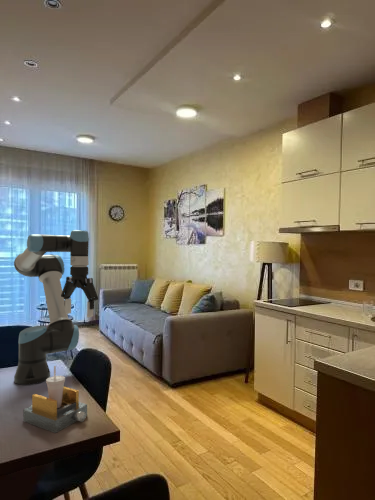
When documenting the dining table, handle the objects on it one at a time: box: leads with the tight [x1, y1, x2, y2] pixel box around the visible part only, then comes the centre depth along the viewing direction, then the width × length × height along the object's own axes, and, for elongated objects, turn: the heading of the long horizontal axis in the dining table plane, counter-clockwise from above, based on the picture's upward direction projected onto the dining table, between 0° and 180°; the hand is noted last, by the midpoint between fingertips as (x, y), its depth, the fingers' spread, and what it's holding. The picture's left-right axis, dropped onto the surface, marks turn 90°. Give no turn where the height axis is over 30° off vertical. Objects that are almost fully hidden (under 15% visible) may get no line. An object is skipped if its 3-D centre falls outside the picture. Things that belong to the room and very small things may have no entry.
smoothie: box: [45, 365, 66, 408], centre depth 124 cm, size 6×6×14 cm
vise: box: [22, 386, 88, 434], centre depth 124 cm, size 19×14×9 cm
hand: (78, 315), depth 152 cm, fingers open, 13 cm apart
